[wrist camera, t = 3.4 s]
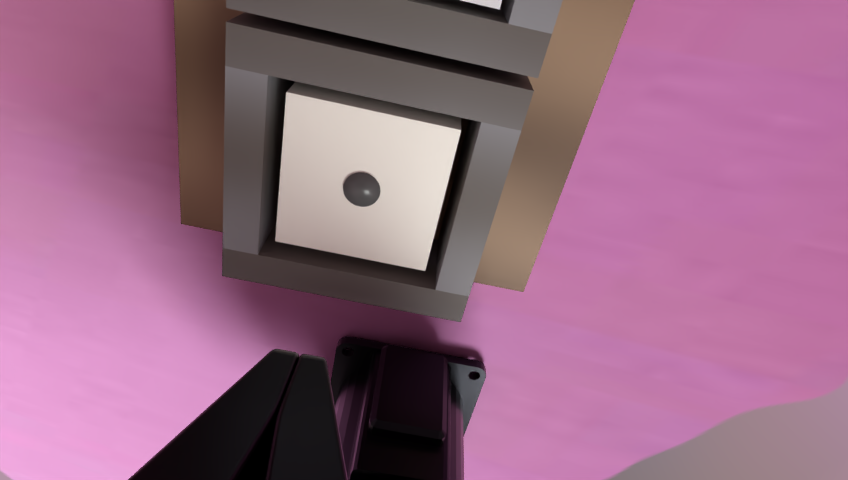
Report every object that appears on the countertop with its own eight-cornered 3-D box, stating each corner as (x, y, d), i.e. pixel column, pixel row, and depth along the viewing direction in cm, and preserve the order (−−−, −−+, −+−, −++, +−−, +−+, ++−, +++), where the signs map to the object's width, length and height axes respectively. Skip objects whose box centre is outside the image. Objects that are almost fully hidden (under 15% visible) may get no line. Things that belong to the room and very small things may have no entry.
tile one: (428, 229, 18) (425, 271, 16) (295, 202, 18) (274, 242, 16) (460, 100, 16) (461, 130, 14) (308, 67, 15) (285, 92, 13)
